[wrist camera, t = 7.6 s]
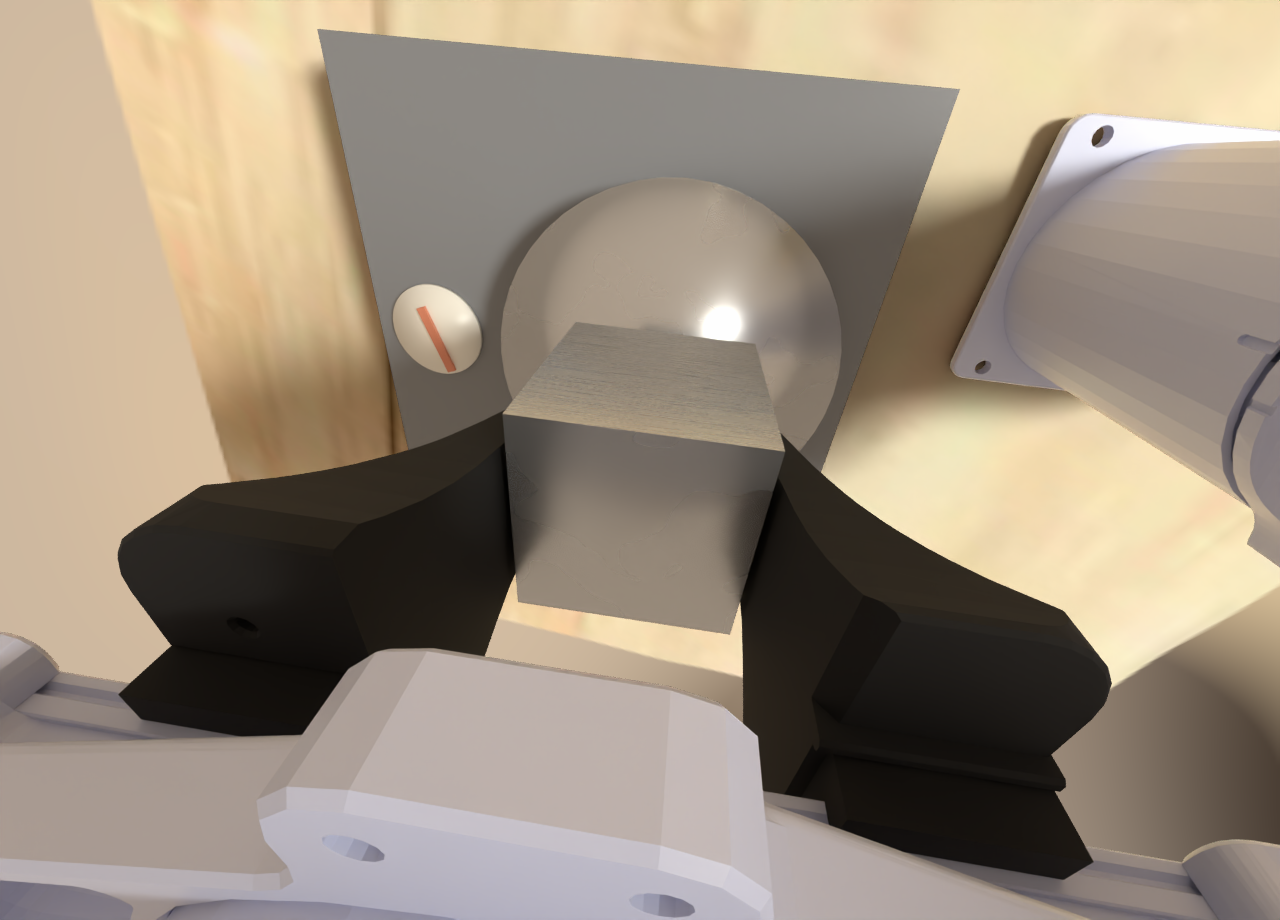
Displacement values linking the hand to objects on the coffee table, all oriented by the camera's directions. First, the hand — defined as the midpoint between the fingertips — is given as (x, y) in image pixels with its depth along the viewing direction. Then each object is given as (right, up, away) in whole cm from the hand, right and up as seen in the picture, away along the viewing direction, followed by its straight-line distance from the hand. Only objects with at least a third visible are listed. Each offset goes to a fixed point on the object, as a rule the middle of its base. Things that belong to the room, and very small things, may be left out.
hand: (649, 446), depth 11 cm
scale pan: (+1, +3, +5) cm, 5 cm away
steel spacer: (0, +1, +1) cm, 2 cm away
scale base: (0, +5, +7) cm, 9 cm away
